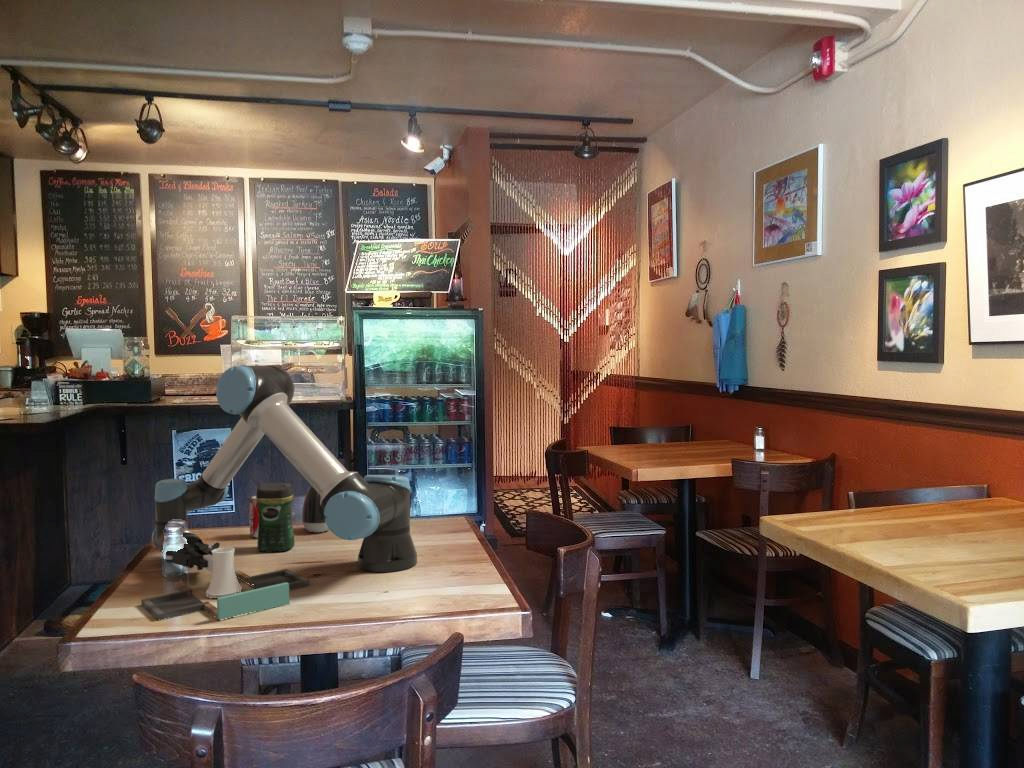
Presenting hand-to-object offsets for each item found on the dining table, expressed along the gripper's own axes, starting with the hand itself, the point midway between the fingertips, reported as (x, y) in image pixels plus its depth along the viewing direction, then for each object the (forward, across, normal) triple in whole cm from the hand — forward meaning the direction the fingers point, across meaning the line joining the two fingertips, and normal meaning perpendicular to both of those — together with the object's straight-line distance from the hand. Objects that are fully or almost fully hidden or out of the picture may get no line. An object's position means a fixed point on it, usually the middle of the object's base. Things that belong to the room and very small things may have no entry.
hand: (216, 566), depth 161 cm
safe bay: (+19, -1, -6) cm, 20 cm away
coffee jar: (-26, -25, -6) cm, 37 cm away
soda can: (-43, -28, -6) cm, 52 cm away
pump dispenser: (-37, -44, -6) cm, 58 cm away
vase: (+3, -1, -6) cm, 7 cm away
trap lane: (+4, -1, -6) cm, 7 cm away
